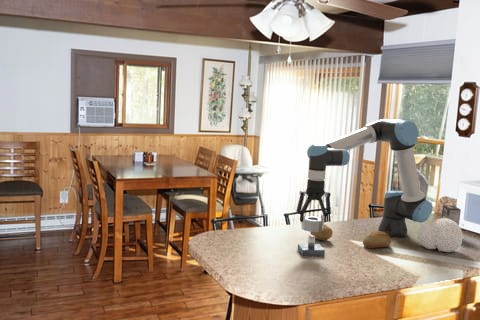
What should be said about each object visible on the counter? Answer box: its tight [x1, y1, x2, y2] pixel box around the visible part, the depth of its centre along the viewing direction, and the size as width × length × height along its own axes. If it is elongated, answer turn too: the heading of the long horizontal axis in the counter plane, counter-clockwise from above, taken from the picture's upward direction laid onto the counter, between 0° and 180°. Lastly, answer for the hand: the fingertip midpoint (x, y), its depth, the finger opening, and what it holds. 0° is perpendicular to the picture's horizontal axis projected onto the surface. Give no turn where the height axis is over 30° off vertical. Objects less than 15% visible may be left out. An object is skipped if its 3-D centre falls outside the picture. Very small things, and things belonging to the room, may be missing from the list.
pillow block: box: [297, 234, 326, 258], centre depth 215 cm, size 10×9×8 cm
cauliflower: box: [417, 217, 464, 254], centre depth 229 cm, size 20×18×16 cm
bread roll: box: [362, 230, 392, 249], centre depth 229 cm, size 10×15×8 cm, turn 114°
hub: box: [304, 215, 323, 233], centre depth 213 cm, size 8×8×5 cm
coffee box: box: [441, 204, 462, 226], centre depth 255 cm, size 9×6×16 cm
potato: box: [309, 224, 334, 241], centre depth 237 cm, size 10×14×8 cm
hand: (312, 229), depth 214 cm, fingers closed on hub, 8 cm apart
